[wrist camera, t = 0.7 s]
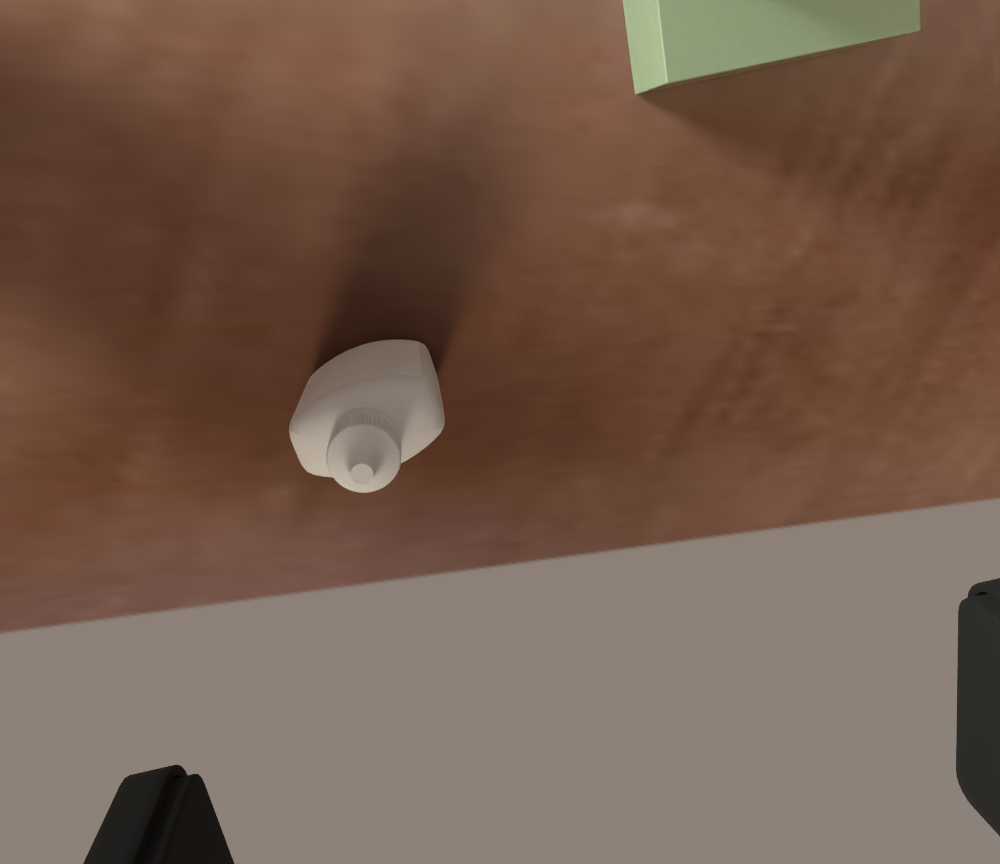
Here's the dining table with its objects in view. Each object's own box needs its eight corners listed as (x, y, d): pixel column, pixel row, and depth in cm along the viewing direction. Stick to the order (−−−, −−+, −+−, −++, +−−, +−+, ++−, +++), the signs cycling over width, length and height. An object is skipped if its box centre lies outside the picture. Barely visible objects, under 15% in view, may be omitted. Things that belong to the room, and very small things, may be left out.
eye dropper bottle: (317, 320, 34) (277, 390, 23) (443, 344, 35) (465, 422, 24) (303, 414, 35) (259, 525, 24) (425, 435, 36) (438, 550, 25)
